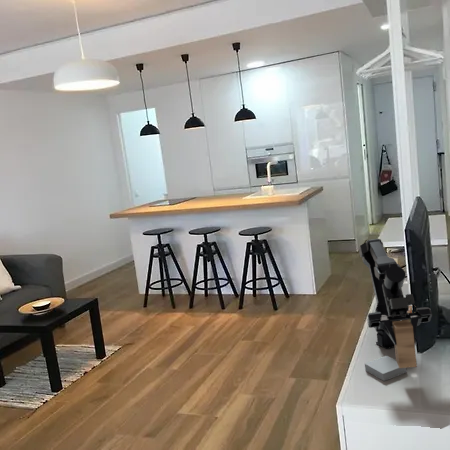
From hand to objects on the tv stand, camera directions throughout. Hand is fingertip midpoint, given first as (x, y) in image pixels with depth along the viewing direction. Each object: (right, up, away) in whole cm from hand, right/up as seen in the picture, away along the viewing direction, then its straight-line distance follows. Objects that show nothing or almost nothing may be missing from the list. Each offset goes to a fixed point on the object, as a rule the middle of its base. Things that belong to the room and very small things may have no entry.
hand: (405, 343), depth 152 cm
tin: (+16, -4, +39) cm, 42 cm away
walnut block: (+1, -7, +3) cm, 7 cm away
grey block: (-2, -12, +12) cm, 16 cm away
